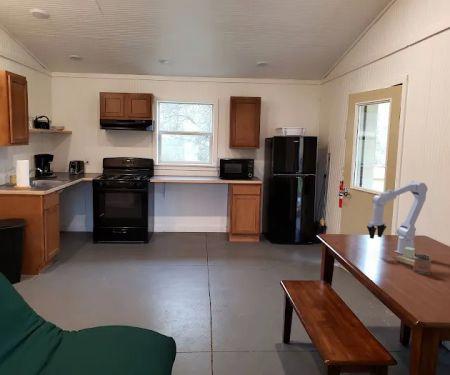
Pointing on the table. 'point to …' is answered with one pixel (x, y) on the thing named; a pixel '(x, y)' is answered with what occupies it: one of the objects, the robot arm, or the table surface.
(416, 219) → the robot arm
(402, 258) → the maple block
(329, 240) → the table surface
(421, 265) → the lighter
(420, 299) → the table surface
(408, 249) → the sage block
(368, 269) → the table surface
